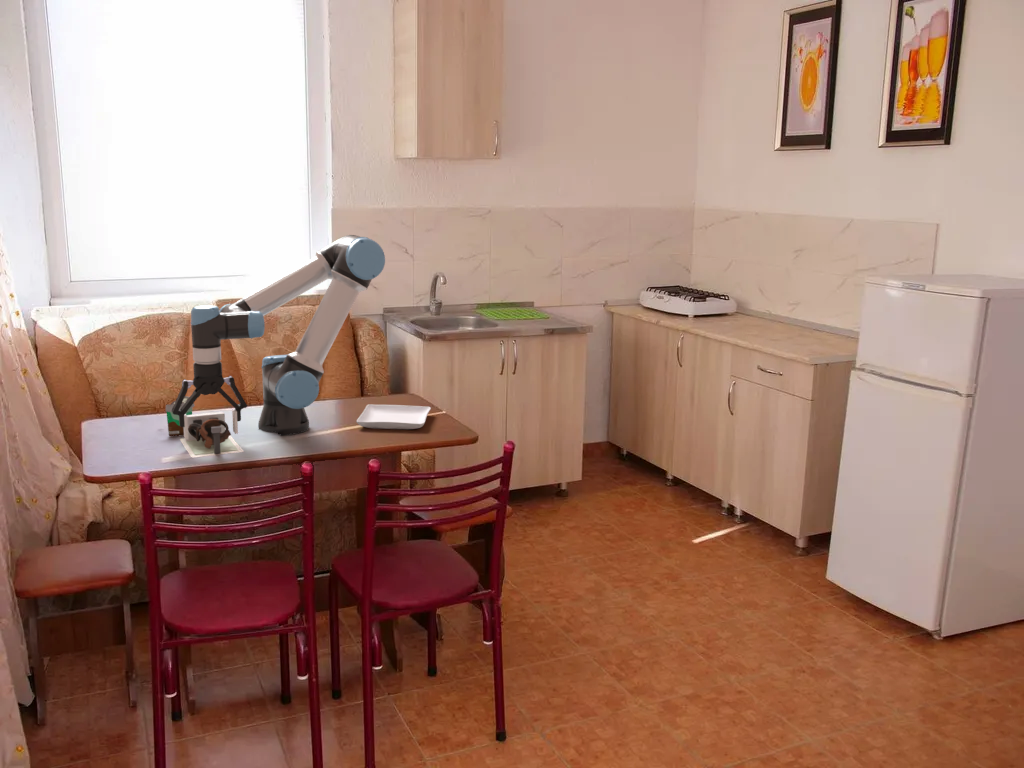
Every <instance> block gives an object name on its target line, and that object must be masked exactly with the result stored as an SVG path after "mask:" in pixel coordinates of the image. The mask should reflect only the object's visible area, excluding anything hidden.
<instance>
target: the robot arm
mask: <svg viewBox="0 0 1024 768" xmlns="http://www.w3.org/2000/svg"><path fill="white" fill-rule="evenodd" d="M385 265H386V255H385V252H384V249H383V248H382V247H381V245H380V244H379V243H378V242H377V241H375V240H373V239H372V238H369V237H366V236H359V235H356V234H349V235H348V234H347V235H344V236H342V237H339V238H338V239H336V240H334V241H332V242H331V243H329V244H328V245H326V246H325V247H322V248H321V249H319V250H317V251H316V253H315V256H314V257H312V258H311V259H308V260H307V261H305V262H303V263H302V264H300V265H298V266H297V267H295V268H293V269H291V270H290V271H287V272H286V273H285V274H283V275H281V276H279V277H277V278H275V279H274V280H272V281H270V282H269V283H267V284H265V285H264V286H262V287H260V288H258V289H257V290H254V291H253V292H251V293H250V294H247V295H246V296H244V297H242V298H241V299H239V300H236V301H235V302H233V303H227V304H224V305H223V306H222V307H220V308H219V306H218V305H214V304H213V305H212V304H210V305H208V304H207V305H206V304H203V305H196V306H194V307H192V308H191V311H190V329H191V344H192V360H193V361H194V362H193V365H192V367H193V380H187V379H182V381H181V388H180V389H179V393H178V395H177V397H176V399H175V400H174V401H175V404H174V406H173V408H172V410H171V411H172V413H173V414H174V415H179V425H180V426H181V427H183V428H184V435H183V437H184V438H185V439H188V422H187V415H186V414H185V413H186V412H187V411H188V409H189V408H190V407H191V406H192V404H193V403H194V404H195V401H197V399H198V398H199V397H200V396H201V395H203V396H208V395H217V393H219V394H220V395H221V396H222V397H223V398H224V399H225V400H226V401H227V402H228V403H229V404H230V405H231V406H232V407H234V408H233V409H232V410H231V414H232V430H233V433H234V434H237V435H238V433H239V428H238V422H241V420H242V416H241V415H242V410H243V409H246V408H248V404H247V403H246V400H245V399H244V398H243V396H242V394H241V393H240V390H239V389H238V387H237V385H236V382H235V378H234V377H233V376H232V375H229V376H228V377H223V364H222V363H223V362H221V361H222V347H221V345H222V344H221V343H222V341H221V340H223V341H224V340H238V339H239V340H240V339H256V338H261V337H263V336H264V334H265V329H266V327H265V318H264V317H265V316H266V315H268V314H269V313H271V312H273V311H276V310H277V309H279V308H280V307H281V306H284V305H285V304H287V303H290V301H292V300H294V299H297V298H298V297H299V296H301V295H303V294H305V293H306V292H308V291H309V290H312V289H313V288H314V287H316V286H318V285H320V284H321V283H323V282H325V281H327V280H331V282H330V284H329V286H328V287H327V289H326V291H325V293H324V295H323V296H322V298H321V301H320V303H319V305H318V306H317V308H316V310H315V312H314V314H313V316H312V318H311V320H310V321H309V324H308V326H307V328H306V330H305V332H304V333H303V335H302V337H301V340H300V341H299V344H297V347H296V348H295V350H294V351H292V352H290V353H287V354H277V355H268V356H265V357H263V358H262V360H261V374H262V396H263V398H262V400H263V405H262V410H261V413H260V417H259V419H258V430H261V431H262V432H263V431H264V432H267V433H276V434H277V435H278V436H288V435H296V434H301V433H304V432H306V431H308V430H309V429H310V420H309V418H308V415H307V412H306V409H305V408H307V407H309V406H311V404H313V403H314V402H315V401H316V399H317V398H318V396H319V393H320V386H319V385H320V384H319V383H320V381H321V379H322V377H323V375H324V372H325V371H324V368H323V364H324V362H325V360H326V357H327V356H328V353H329V352H330V350H331V348H332V346H333V344H334V342H335V341H336V338H337V336H338V335H339V333H340V330H341V329H342V327H343V325H344V323H345V320H346V319H347V318H348V315H349V313H350V311H351V310H352V308H353V306H354V304H355V302H356V299H357V298H358V296H359V294H360V293H361V292H364V291H366V290H368V288H369V286H370V284H371V282H372V280H374V279H376V278H377V277H378V276H379V275H381V273H382V272H383V270H384V268H385ZM225 383H226V385H228V386H229V387H230V389H231V390H232V393H234V395H235V397H236V399H237V400H238V402H239V403H238V404H237V403H236V401H235V400H234V399H233V398H231V396H229V394H228V393H227V392H226V391H224V390H223V389H222V387H223V386H224V384H225ZM191 386H194V387H195V389H194V390H193V391H192V393H191V395H190V396H188V397H189V399H188V400H187V401H186V402H185V404H184V405H183V406H182V408H181V409H180V410H179V408H180V406H181V404H182V402H183V399H184V397H185V396H186V395H187V392H188V390H189V389H190V388H191Z"/></svg>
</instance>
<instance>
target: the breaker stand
mask: <svg viewBox="0 0 1024 768" xmlns="http://www.w3.org/2000/svg"><path fill="white" fill-rule="evenodd" d="M225 415H226V414H225V412H224V411H218V412H207V413H206V412H205V413H204V412H203V413H196V414H192V415H187V422H188V428H189V425H190V424H192V423H193V420H198V419H202V424H203V423H204V422H205V421H206V420H209V418H218V419H219V420H222V421H224V422H226V420H225V419H226V417H225ZM220 427H221V432H220V433H223V432H224V431H225V430H226V428H225V427H224V426H223V425H222V424H221V426H220ZM179 441H180V442H181V443H182V445H183V447H184V449H185V450H186V452H188V454H189V456H190V458H201V457H210V456H219V455H227V454H234V453H236V454H237V453H244V452H245V451H244V450H243V449H242V447H241V446H240V445H239V444H238V442H236V441H235V439H234V438H233V437H232V435H230V436H229V437H228V439H225V441H224V442H222V443H220V454H214V445H212V446H211V448H210V449H208V448H206V447H205V445H204V444H205V442H206V440H205V441H202V438H200V440H199V441H197V440H196V438H194V437H193V436H192V435H191V434H190V433H189V431H188V439H185V437H184V438H179Z"/></svg>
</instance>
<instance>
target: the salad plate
mask: <svg viewBox="0 0 1024 768" xmlns="http://www.w3.org/2000/svg"><path fill="white" fill-rule="evenodd" d="M431 409H432V407H430V406H424V405H423V406H421V405H407V404H406V405H403V404H366V406H365V407H364V409H363V411H362V413H360V415H359V417H358V418H357V419H356V423H357V424H358V425H359V426H360V427H363V428H368V429H379V430H380V429H383V430H384V429H385V430H386V429H388V430H389V429H390V430H416V429H420V428H422V427H423V426H424V425H425V423H426V420H427V417H428V415H429V413H430V411H431Z"/></svg>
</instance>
